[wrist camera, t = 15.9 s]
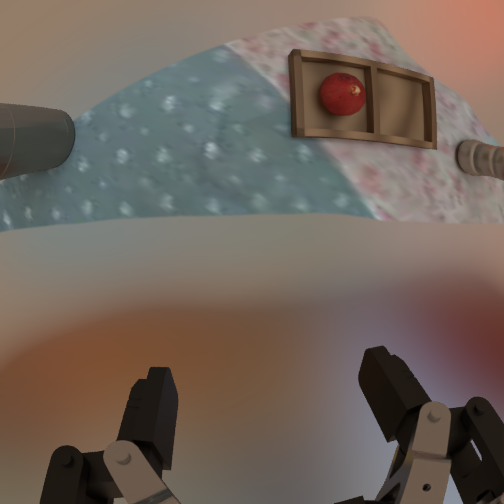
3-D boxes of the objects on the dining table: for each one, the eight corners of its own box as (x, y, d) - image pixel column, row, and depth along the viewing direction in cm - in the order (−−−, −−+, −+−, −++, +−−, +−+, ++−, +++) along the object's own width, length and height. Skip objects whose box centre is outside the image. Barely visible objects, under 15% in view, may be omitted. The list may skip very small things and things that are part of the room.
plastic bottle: (478, 159, 38) (558, 179, 19) (462, 180, 39) (545, 207, 21) (465, 131, 36) (550, 142, 17) (448, 152, 37) (538, 170, 19)
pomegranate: (309, 79, 32) (329, 64, 24) (347, 78, 32) (374, 66, 25) (316, 119, 34) (338, 113, 27) (354, 117, 34) (382, 112, 27)
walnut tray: (291, 136, 35) (297, 135, 33) (288, 55, 31) (293, 49, 28) (425, 148, 37) (436, 149, 34) (422, 80, 33) (433, 77, 30)
